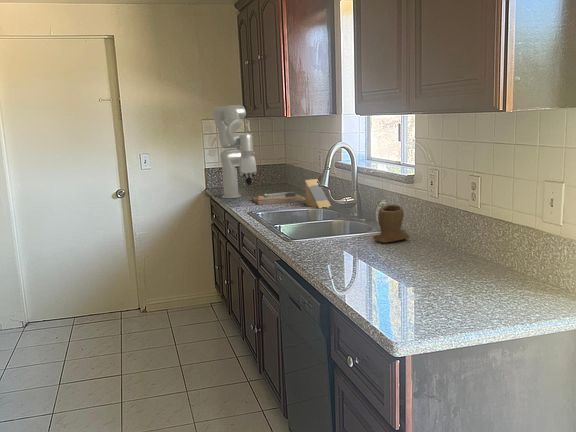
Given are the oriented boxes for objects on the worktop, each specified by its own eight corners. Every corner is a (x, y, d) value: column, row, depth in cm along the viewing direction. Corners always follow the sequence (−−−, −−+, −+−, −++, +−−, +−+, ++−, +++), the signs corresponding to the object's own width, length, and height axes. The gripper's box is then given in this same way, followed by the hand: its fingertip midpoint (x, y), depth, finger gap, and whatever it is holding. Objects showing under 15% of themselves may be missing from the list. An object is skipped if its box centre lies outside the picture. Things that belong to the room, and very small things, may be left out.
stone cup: (385, 246, 229) (384, 209, 226) (369, 240, 239) (368, 205, 237) (416, 241, 235) (416, 205, 232) (399, 236, 245) (399, 201, 243)
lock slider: (258, 200, 352) (258, 196, 352) (257, 199, 355) (257, 196, 354) (263, 199, 353) (263, 196, 353) (262, 199, 355) (262, 195, 355)
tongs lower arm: (260, 199, 355) (260, 197, 355) (258, 198, 359) (258, 196, 358) (295, 196, 361) (295, 194, 361) (294, 195, 365) (293, 193, 365)
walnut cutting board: (251, 200, 366) (251, 197, 365) (296, 196, 373) (296, 193, 373) (258, 204, 348) (258, 201, 347) (305, 200, 355) (305, 197, 355)
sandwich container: (319, 208, 324) (318, 182, 321) (305, 205, 338) (304, 180, 335) (332, 207, 328) (331, 180, 325) (318, 203, 341) (317, 178, 339)
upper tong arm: (264, 197, 356) (264, 194, 356) (263, 196, 359) (263, 193, 359) (295, 194, 361) (295, 191, 361) (293, 193, 365) (293, 190, 364)
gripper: (257, 153, 352) (259, 183, 355) (233, 155, 348) (235, 185, 351) (260, 153, 345) (262, 184, 348) (235, 155, 341) (238, 186, 344)
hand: (248, 184), depth 350 cm, fingers closed
